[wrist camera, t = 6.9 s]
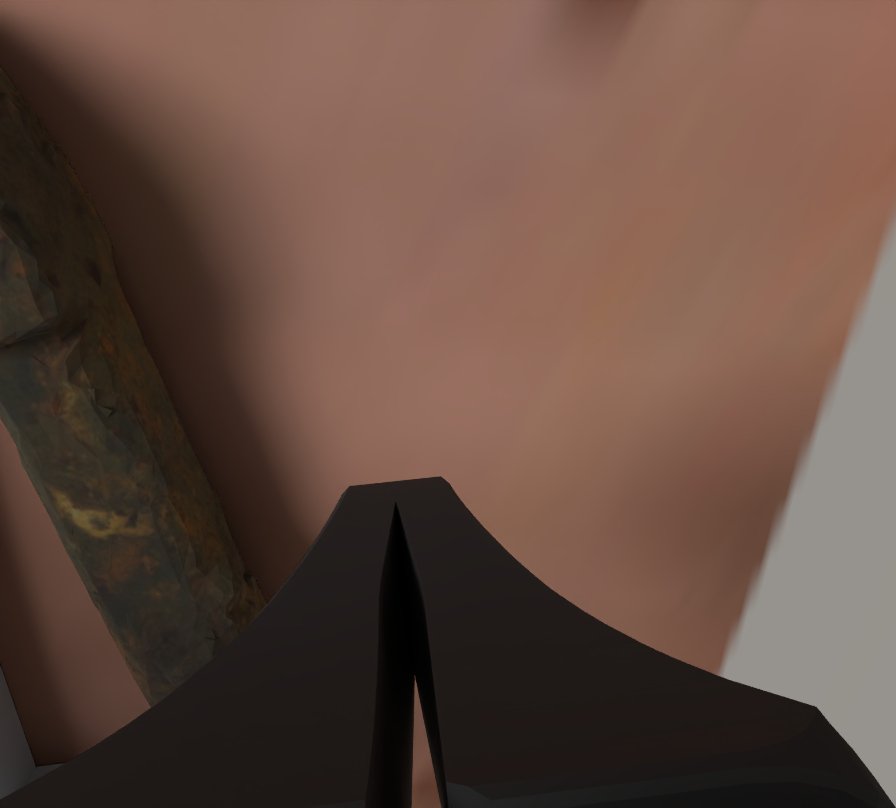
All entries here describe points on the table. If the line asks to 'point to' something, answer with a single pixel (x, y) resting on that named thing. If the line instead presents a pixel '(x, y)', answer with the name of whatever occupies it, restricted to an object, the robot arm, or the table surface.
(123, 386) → the brown rough log
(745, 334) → the table surface
